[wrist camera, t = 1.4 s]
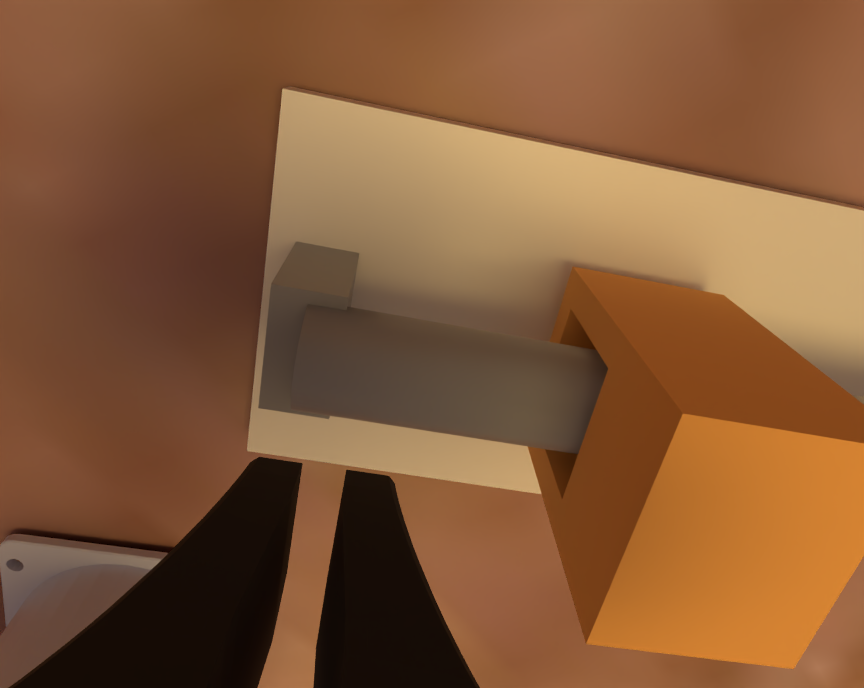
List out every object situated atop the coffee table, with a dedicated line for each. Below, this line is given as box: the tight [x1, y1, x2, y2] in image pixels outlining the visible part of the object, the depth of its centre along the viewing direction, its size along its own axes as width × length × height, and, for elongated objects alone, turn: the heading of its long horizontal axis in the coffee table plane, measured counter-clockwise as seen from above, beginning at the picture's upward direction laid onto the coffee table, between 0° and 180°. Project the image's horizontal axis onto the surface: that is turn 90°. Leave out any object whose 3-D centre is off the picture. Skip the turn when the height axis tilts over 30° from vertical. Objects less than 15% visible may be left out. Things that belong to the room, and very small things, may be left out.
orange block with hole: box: [528, 266, 864, 669], centre depth 14 cm, size 4×5×7 cm
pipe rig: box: [247, 86, 864, 494], centre depth 17 cm, size 27×10×6 cm, turn 79°
